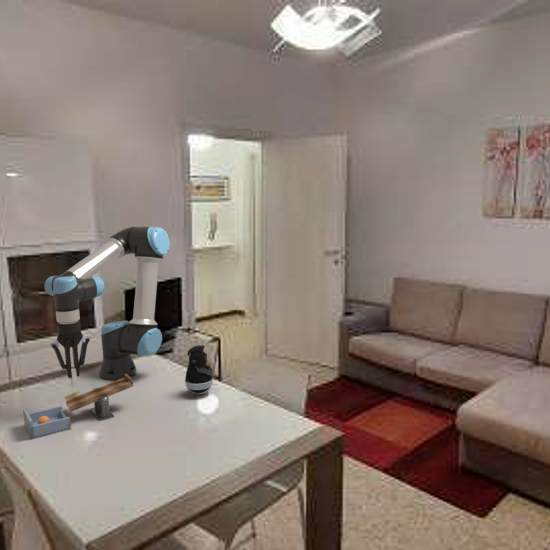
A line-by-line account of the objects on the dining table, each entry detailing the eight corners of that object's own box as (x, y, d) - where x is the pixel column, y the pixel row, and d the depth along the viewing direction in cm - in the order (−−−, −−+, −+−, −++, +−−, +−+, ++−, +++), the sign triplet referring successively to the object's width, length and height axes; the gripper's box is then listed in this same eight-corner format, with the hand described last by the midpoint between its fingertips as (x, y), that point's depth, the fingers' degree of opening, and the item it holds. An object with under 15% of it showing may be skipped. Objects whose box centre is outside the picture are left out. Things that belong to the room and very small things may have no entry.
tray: (62, 416, 174) (61, 400, 173) (70, 429, 164) (69, 411, 163) (24, 425, 167) (23, 409, 166) (31, 439, 157) (29, 421, 157)
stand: (104, 406, 182) (102, 385, 181) (114, 417, 173) (112, 395, 172) (90, 410, 179) (88, 389, 178) (99, 420, 170) (98, 398, 169)
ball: (34, 423, 165) (45, 425, 167) (36, 427, 162) (47, 429, 164) (39, 413, 165) (50, 415, 168) (41, 417, 163) (52, 419, 165)
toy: (211, 399, 187) (209, 348, 184) (183, 399, 188) (180, 348, 185) (215, 388, 198) (213, 340, 195) (188, 389, 198) (186, 340, 195)
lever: (121, 376, 189) (119, 368, 188) (133, 386, 179) (131, 378, 178) (62, 399, 177) (60, 391, 176) (71, 411, 167) (69, 403, 166)
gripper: (84, 316, 179) (90, 378, 183) (46, 322, 172) (52, 386, 175) (90, 320, 173) (96, 384, 177) (50, 326, 165) (57, 393, 169)
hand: (74, 385), depth 176 cm, fingers closed
